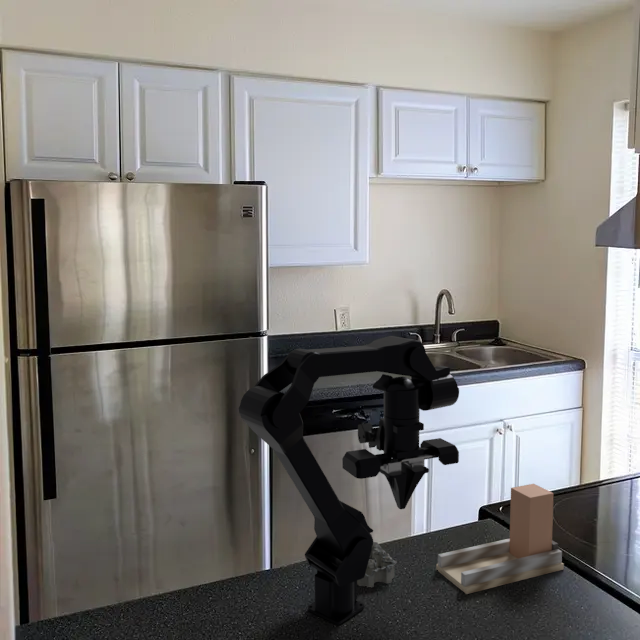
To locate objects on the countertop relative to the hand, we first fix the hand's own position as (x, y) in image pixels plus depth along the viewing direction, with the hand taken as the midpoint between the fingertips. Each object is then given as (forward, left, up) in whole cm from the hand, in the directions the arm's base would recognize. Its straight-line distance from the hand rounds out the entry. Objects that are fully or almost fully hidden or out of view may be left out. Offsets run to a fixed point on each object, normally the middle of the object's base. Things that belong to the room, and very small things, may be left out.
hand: (401, 508), depth 109 cm
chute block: (+21, -13, -12) cm, 27 cm away
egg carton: (0, +7, -14) cm, 15 cm away
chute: (+15, -10, -13) cm, 22 cm away
